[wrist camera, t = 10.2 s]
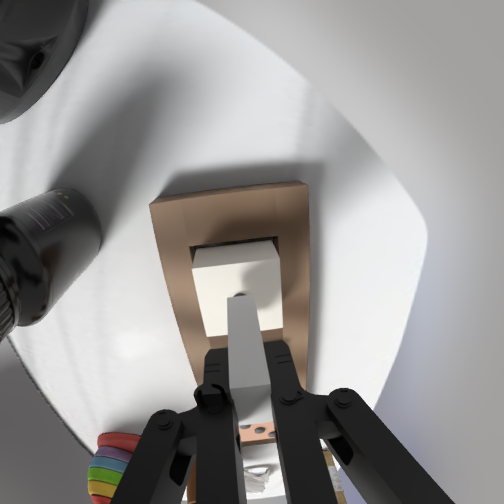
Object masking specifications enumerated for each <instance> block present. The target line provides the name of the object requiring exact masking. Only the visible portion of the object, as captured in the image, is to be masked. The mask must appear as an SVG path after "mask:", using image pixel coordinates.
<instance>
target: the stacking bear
mask: <svg viewBox="0 0 504 504" xmlns="http://www.w3.org/2000/svg"><path fill="white" fill-rule="evenodd" d="M140 438H141V436H137V435H131V434H123V433H108V434H103V435H100V436H99V437H98V440H97V444H98V448H99V449H98V450H97V452H96V453H95V455H94V458H93V459H92V461H91V463H90V466H89V470H88V481H89V482H88V490H89V494H90V495H91V499H92V501H93V502H94V503H95V504H109V503H110V501H111V499H112V497H113V495H114V492H115V490H116V488H117V486H118V484H119V482H120V480H121V477H122V475H123V473H124V471H125V469H126V467H127V465H128V463H129V460H130V458H131V456H132V454H133V452H134V450H135V448H136V446H137V444H138V442H139V440H140Z"/></svg>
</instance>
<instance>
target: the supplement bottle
mask: <svg viewBox="0 0 504 504" xmlns="http://www.w3.org/2000/svg"><path fill="white" fill-rule="evenodd" d="M100 242H101V229H100V224H99V220H98V217H97V214H96V212H95V210H94V208H93V207H92V205H91V204H90V203H89V201H88V200H87V199H86V198H85V197H83V196H82V195H81V194H79V193H78V192H76V191H74V190H70V189H65V188H61V189H55V190H52V191H49V192H46V193H43V194H41V195H38V196H36V197H33V198H31V199H28V200H26V201H24V202H21V203H19V204H16V205H14V206H12V207H10V208H7V209H5V210H3V211H1V212H0V343H1V342H2V341H3V339H4V338H5V337H6V336H7V334H9V333H10V332H12V330H13V329H14V328H15V327H16V326H20V327H26V326H31V325H34V324H37V323H38V322H40V321H41V320H42V319H43V318H44V317H45V316H46V315H47V314H48V312H49V311H50V310H51V309H52V307H53V306H54V305H55V304H56V303H57V301H58V300H59V299H60V298H61V297H62V295H63V294H64V293H65V292H66V291H67V290H68V289H69V287H70V286H71V285H72V284H73V283H74V282H75V281H76V279H77V278H78V277H79V276H80V275H81V274H82V273H83V272H84V271H85V270H86V268H87V267H88V266H89V265H90V264H91V263H92V261H93V260H94V259H95V257H96V255H97V253H98V250H99V247H100Z"/></svg>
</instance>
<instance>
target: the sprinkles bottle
mask: <svg viewBox="0 0 504 504" xmlns="http://www.w3.org/2000/svg"><path fill="white" fill-rule="evenodd" d="M323 453H324V456H325V460H326V463H327V466H328V470H329V473H330V477H331V480H332V484H333V487H334V491H335V494H336V498H337V501H338V504H347V502H346V499H345V496H344V493H343V488H342V485H341V482H340V479H339V475H338V472H337V469H336V467H335V464H334V461H333V458H332V453H331V452H330V451H323Z"/></svg>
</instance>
